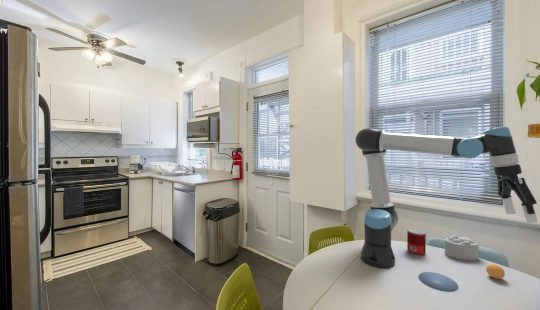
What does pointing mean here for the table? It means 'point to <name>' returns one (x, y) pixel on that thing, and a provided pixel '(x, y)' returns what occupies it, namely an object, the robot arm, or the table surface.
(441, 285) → the disc
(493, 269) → the ball
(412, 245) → the canned food
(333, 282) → the table surface
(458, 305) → the table surface
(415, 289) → the table surface
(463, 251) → the lumpy-topped squat cylinder
